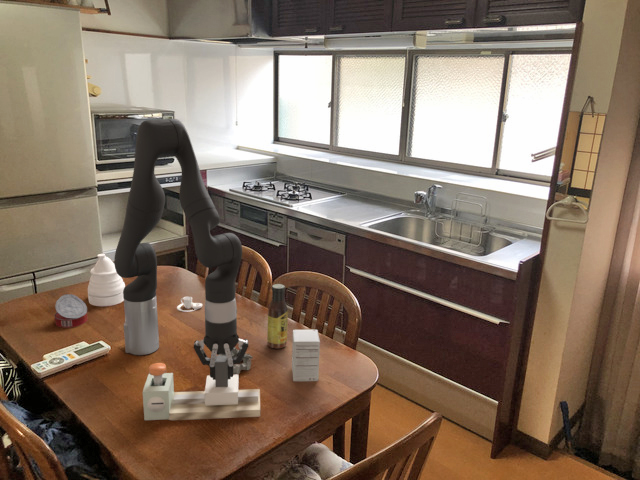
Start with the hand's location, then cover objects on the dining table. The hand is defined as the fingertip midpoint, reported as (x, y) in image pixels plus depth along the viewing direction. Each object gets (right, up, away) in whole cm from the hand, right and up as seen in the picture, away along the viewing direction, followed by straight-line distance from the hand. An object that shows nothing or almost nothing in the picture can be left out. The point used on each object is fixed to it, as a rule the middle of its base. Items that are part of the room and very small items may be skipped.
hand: (222, 377), depth 130 cm
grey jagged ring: (-1, -3, +23) cm, 23 cm away
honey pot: (-54, +12, +63) cm, 84 cm away
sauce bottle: (+11, +1, +35) cm, 37 cm away
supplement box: (+20, -4, +19) cm, 28 cm away
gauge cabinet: (-16, -8, 0) cm, 18 cm away
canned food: (-59, +7, +45) cm, 74 cm away
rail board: (-2, -8, +2) cm, 9 cm away
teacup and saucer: (-22, +9, +56) cm, 61 cm away
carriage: (0, -6, +2) cm, 6 cm away
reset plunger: (-15, -3, -1) cm, 16 cm away
